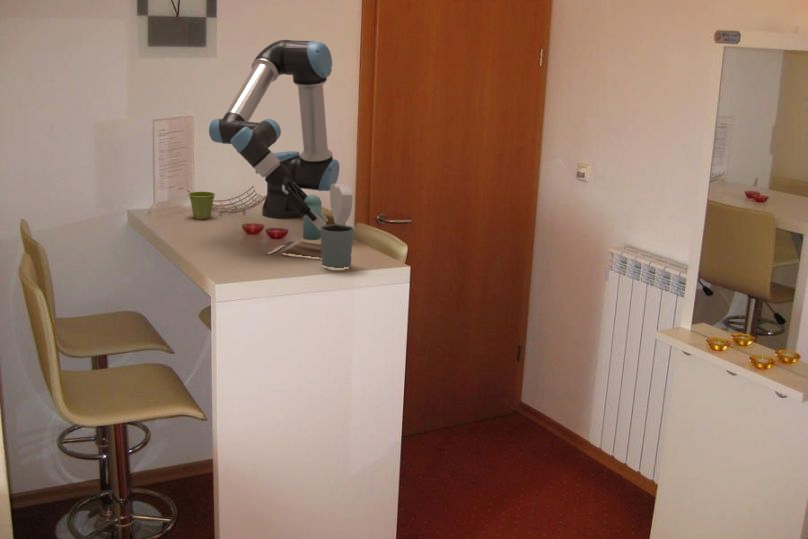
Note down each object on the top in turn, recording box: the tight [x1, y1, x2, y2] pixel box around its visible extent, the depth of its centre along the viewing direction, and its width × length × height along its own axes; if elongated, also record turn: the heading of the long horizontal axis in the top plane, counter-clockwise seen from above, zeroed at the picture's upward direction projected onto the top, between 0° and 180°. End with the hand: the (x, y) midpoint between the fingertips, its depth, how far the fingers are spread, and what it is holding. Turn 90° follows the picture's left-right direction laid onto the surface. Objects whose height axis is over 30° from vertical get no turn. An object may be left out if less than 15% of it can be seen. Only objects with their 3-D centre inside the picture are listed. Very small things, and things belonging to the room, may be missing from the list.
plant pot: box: [187, 190, 216, 220], centre depth 332 cm, size 9×9×9 cm
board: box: [281, 241, 322, 258], centre depth 293 cm, size 16×14×1 cm
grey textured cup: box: [320, 224, 355, 268], centre depth 276 cm, size 10×10×12 cm
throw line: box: [282, 240, 294, 246], centre depth 296 cm, size 18×2×1 cm, turn 163°
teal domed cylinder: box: [302, 194, 322, 241], centre depth 290 cm, size 6×6×14 cm
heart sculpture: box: [329, 183, 353, 225], centre depth 311 cm, size 16×5×18 cm, turn 19°
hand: (323, 225), depth 291 cm, fingers closed on teal domed cylinder, 5 cm apart
